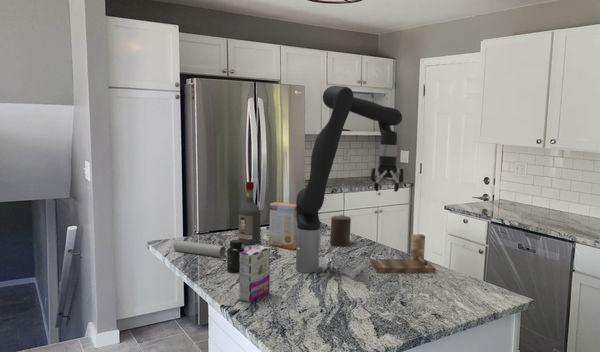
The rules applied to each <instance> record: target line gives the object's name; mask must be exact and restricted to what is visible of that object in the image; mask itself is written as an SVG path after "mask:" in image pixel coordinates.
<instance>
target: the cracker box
mask: <svg viewBox="0 0 600 352" xmlns="http://www.w3.org/2000/svg"><path fill="white" fill-rule="evenodd" d="M268 229H269V233H268V234H269V236H268V237H269V238H268V240H269V241H268V246H271V247H276V248H277V247H278V248H283V249H288V250H290V251H291V250H293V251H294V250H296V245H297V218H296V204H295V203H287V202H278V201H275V202H271V203H269V228H268Z"/></svg>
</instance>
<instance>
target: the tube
mask: <svg viewBox="0 0 600 352" xmlns="http://www.w3.org/2000/svg"><path fill="white" fill-rule="evenodd" d="M173 249H174V250H175V251H176V252H180V253H186V254H187V253H188V254H193V255H200V256H207V257H215V258H220V259H221V258H224V257H225V255H226V254H227V250H226V246H225V245H218V244H210V243H203V242H202V243H201V242H196V241H195V242H193V241H187V240H177V241H175V242H174V244H173Z"/></svg>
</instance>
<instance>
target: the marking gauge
mask: <svg viewBox="0 0 600 352" xmlns="http://www.w3.org/2000/svg"><path fill="white" fill-rule="evenodd" d="M425 245H426V235H424V234H419V233H418V234H417V233H416V234H415V233H414V234H411V242H410V259H419V260H420V261H421V262H422V263H423V264H424V265H427V261H428V260H426V261H424V260H425V250H426V249H425Z"/></svg>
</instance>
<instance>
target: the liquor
mask: <svg viewBox="0 0 600 352" xmlns="http://www.w3.org/2000/svg"><path fill="white" fill-rule="evenodd" d="M245 183H246V184H245V188H246V191H245V192H246V193H245V194H246V195H245V202H243V204H242V205H241V206H240V207H239V210H238V240H242V245H245V246H253V245H257V244H260V241H261V235H260V234H261V209H260V207H259V205H257V204H256V203H255V200H254V186H255V185H254V183H255V182H254V181H245Z"/></svg>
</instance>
